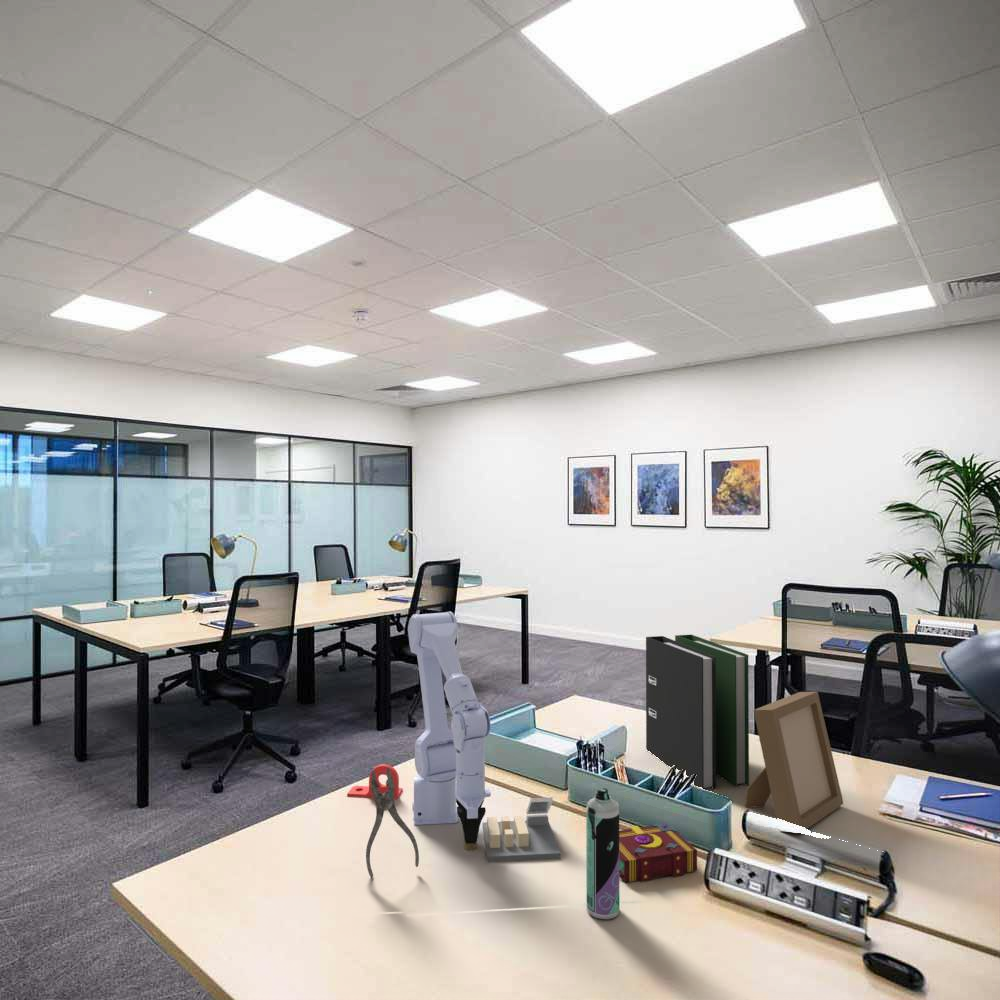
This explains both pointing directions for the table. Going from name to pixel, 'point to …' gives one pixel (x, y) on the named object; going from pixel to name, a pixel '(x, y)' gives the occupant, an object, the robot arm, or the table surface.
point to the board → (524, 853)
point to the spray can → (602, 856)
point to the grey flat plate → (539, 805)
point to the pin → (470, 846)
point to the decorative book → (654, 853)
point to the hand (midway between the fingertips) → (470, 838)
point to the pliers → (382, 804)
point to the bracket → (379, 770)
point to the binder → (698, 708)
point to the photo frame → (795, 761)
